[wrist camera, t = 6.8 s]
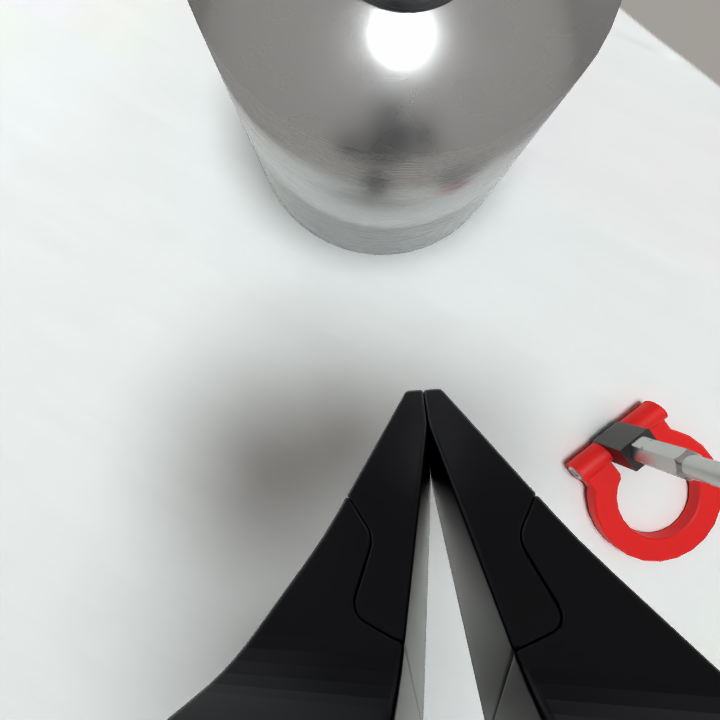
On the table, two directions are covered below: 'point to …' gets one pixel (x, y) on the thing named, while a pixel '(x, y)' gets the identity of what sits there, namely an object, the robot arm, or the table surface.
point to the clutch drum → (395, 102)
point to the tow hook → (658, 450)
